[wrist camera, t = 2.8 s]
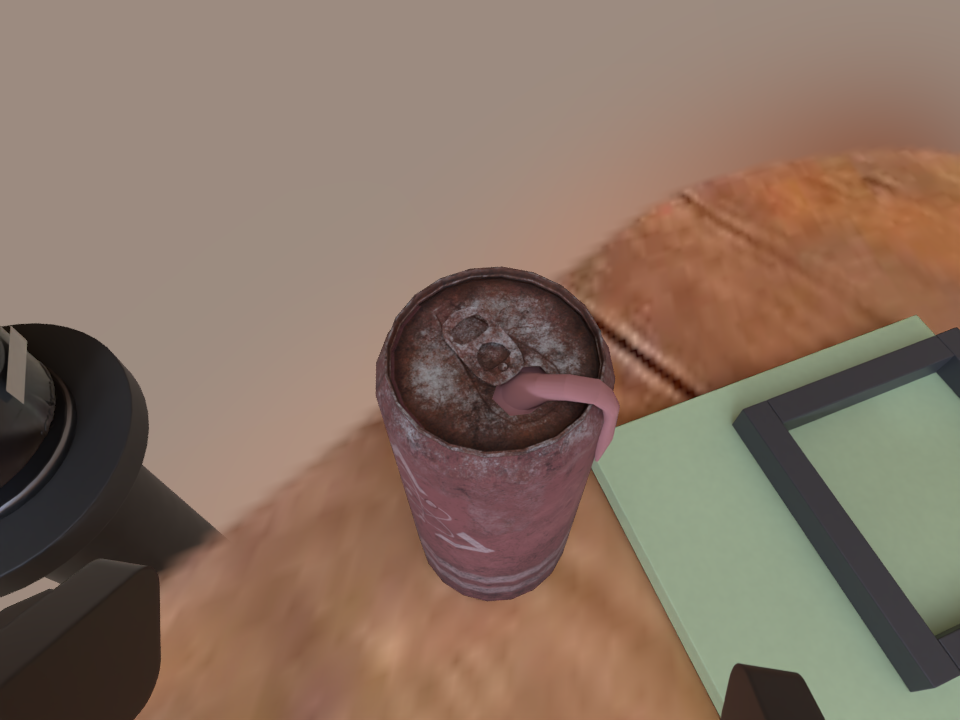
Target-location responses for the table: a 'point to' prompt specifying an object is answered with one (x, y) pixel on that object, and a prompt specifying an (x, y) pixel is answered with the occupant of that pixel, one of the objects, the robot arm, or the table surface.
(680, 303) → the table surface
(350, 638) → the table surface
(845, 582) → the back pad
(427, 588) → the table surface
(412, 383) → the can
